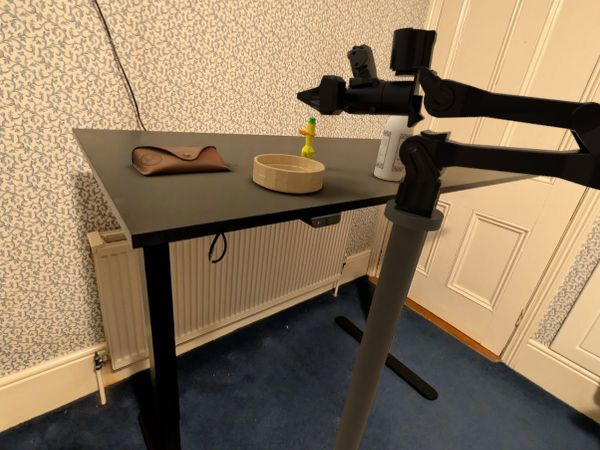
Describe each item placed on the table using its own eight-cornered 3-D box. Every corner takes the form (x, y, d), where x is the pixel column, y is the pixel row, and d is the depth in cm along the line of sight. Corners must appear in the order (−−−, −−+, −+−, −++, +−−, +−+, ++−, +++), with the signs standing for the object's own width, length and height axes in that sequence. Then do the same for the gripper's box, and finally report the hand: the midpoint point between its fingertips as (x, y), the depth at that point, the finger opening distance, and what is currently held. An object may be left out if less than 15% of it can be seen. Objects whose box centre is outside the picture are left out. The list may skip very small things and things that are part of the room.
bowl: (331, 185, 70) (335, 164, 68) (302, 201, 58) (306, 177, 56) (275, 170, 75) (277, 151, 73) (237, 182, 63) (239, 159, 61)
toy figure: (290, 162, 84) (295, 114, 79) (299, 161, 86) (305, 115, 82) (308, 169, 80) (315, 119, 75) (318, 168, 82) (325, 119, 77)
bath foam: (403, 178, 84) (424, 96, 76) (398, 183, 78) (421, 95, 70) (377, 172, 87) (395, 92, 79) (370, 177, 81) (389, 91, 73)
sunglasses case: (144, 174, 58) (136, 138, 58) (136, 183, 63) (128, 150, 63) (233, 169, 69) (227, 138, 69) (220, 177, 75) (213, 149, 75)
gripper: (405, 54, 62) (331, 58, 69) (374, 36, 47) (284, 42, 54) (397, 116, 66) (328, 113, 73) (366, 117, 51) (283, 113, 58)
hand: (308, 96), depth 64 cm, fingers open, 9 cm apart
